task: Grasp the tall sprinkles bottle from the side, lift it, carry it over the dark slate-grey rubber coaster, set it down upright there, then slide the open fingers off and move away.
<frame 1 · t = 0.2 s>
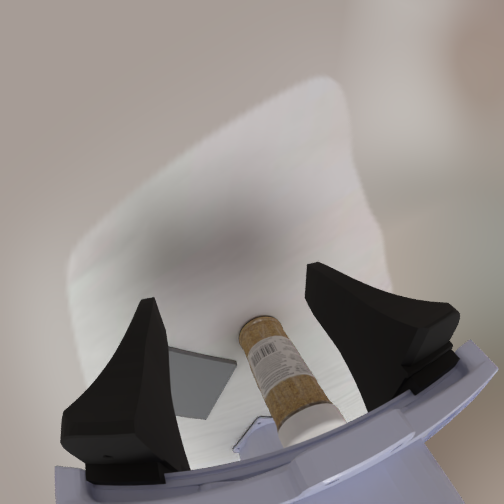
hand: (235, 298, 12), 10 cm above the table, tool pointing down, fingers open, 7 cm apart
coaster: (176, 384, 26), on the table
sprinkles bottle: (260, 332, 27), on the table
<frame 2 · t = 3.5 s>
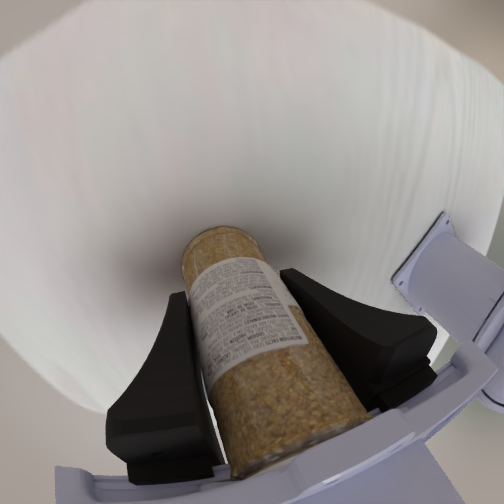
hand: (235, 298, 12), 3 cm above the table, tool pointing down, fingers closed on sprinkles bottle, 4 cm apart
sprinkles bottle: (219, 259, 15), on the table, touching gripper
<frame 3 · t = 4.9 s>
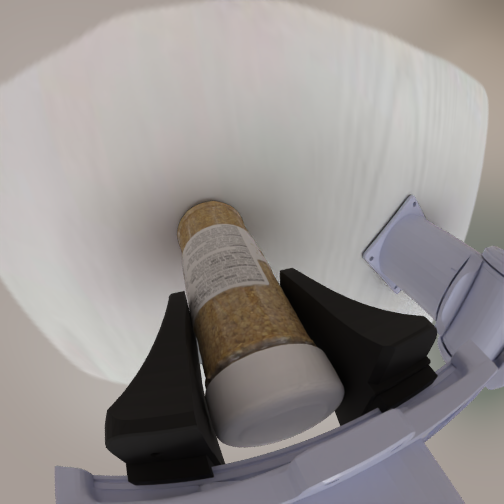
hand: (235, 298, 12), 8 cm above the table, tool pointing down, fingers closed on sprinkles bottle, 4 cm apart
sprinkles bottle: (209, 228, 18), on the table, touching gripper
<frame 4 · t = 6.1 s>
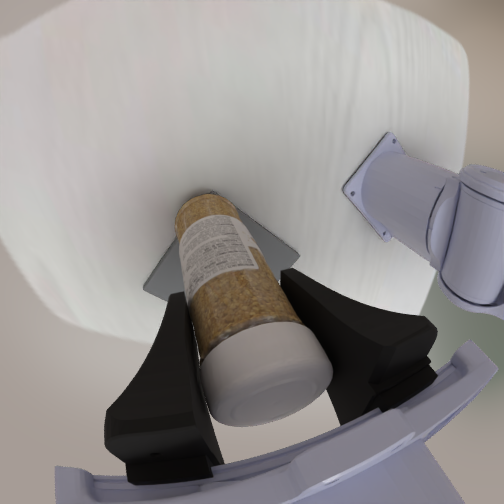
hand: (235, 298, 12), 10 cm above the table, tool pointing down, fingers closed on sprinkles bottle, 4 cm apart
coaster: (222, 269, 24), on the table
sprinkles bottle: (205, 220, 19), point 2 cm above the table, touching gripper
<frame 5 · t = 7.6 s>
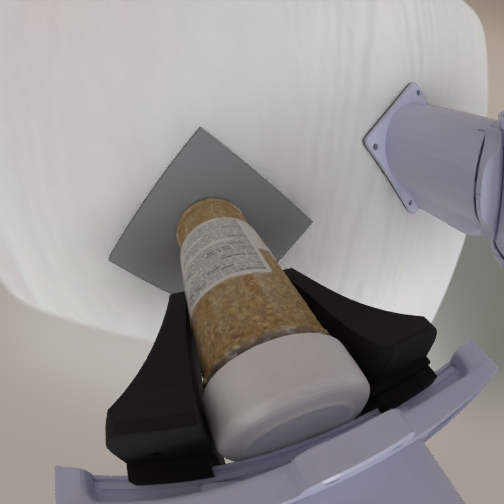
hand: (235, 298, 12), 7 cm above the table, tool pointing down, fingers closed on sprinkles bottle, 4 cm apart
coaster: (211, 235, 18), on the table
sprinkles bottle: (210, 228, 17), resting on coaster, touching gripper
when the fingers open (5 cm above the table, at t = 8.5 s): sprinkles bottle stays where it is, resting on coaster.
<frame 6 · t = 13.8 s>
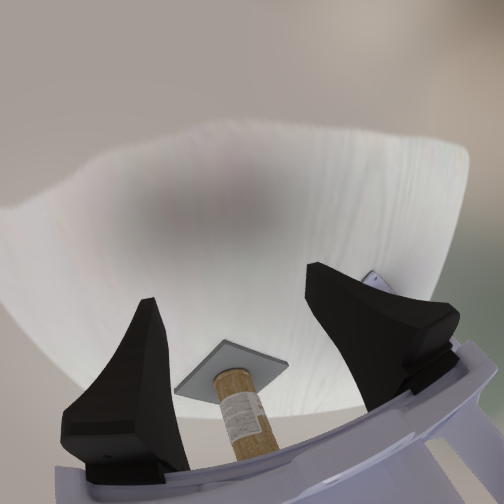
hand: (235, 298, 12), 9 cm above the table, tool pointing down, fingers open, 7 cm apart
coaster: (231, 378, 30), on the table
sprinkles bottle: (231, 377, 29), resting on coaster
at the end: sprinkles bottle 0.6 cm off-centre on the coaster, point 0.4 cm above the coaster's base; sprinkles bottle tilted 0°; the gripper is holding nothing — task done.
